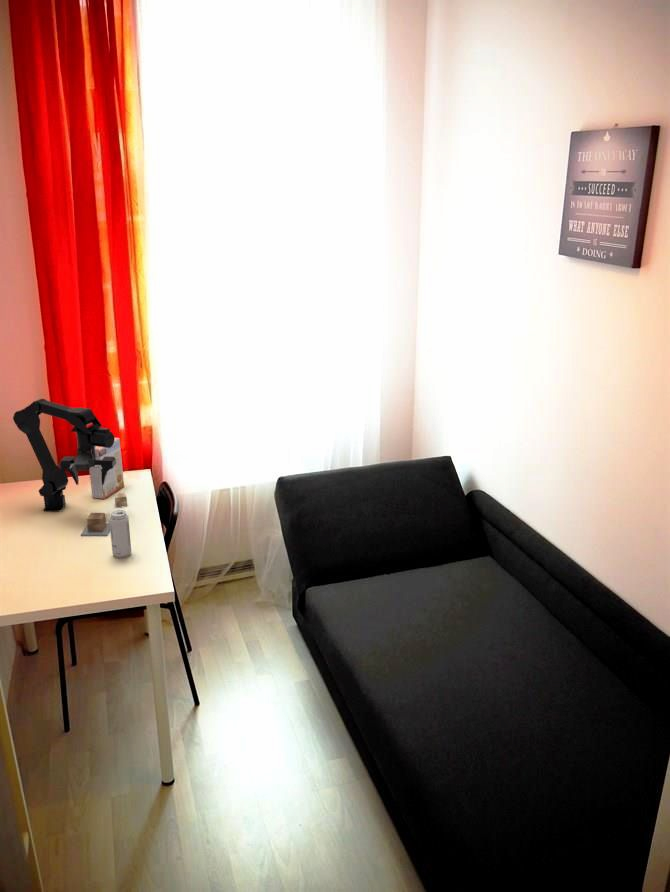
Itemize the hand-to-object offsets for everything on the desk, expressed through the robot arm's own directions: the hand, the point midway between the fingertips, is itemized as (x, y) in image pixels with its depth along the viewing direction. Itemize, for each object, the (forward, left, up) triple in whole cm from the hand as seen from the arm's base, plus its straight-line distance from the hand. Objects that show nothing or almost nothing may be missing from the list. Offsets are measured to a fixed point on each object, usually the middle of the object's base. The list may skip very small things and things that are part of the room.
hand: (90, 484), depth 271 cm
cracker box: (0, +21, -12) cm, 24 cm away
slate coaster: (+5, -13, -12) cm, 18 cm away
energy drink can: (+18, -31, -12) cm, 38 cm away
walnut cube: (+5, -13, -11) cm, 18 cm away
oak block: (+8, +9, -12) cm, 17 cm away
